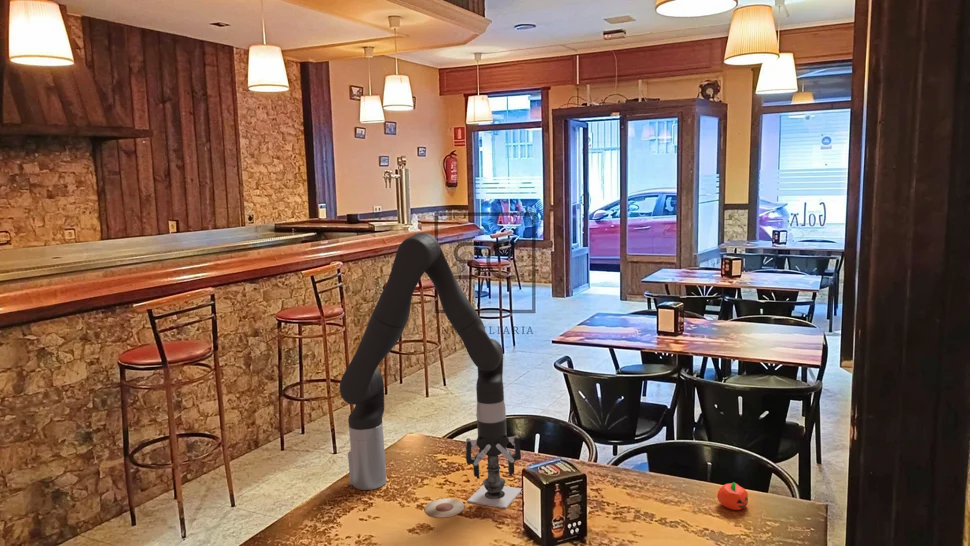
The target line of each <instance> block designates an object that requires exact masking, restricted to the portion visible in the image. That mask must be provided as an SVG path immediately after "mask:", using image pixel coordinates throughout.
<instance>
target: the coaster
mask: <svg viewBox="0 0 970 546" xmlns="http://www.w3.org/2000/svg"><path fill="white" fill-rule="evenodd" d="M464 509H465V505H464V503H463V502H462V501H461V500H459V499H456V498H450V497H449V498H446V497H445V498H438V499H435V500H432V501H429V503H427V504H426V505H425V508H424V511H425V513H426V514H427V515H428V516H429V517H433V518H437V519H438V518H440V519H443V518H451V517H455V516H457V515H459V514H460V513H462V512H463V510H464Z"/></svg>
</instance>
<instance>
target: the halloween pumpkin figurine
mask: <svg viewBox="0 0 970 546" xmlns="http://www.w3.org/2000/svg"><path fill="white" fill-rule="evenodd" d="M716 495H717V496H716V497H717V500H718V502H719V503H720V505H722V506H723V507H725V508H727V509H729V510H732V511H740V510H742V509H745V508H746V506H747V505H748V504H749V495H748V491H747V490H746V489H745V488H744V487H742V486H740V485H739V484H738V483H736V482H734V481H733V482H731V483H730V482H729V483H725V484H723V485H722V486H721V487H720V488H719V489H718V490H717V494H716Z"/></svg>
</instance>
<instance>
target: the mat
mask: <svg viewBox="0 0 970 546" xmlns="http://www.w3.org/2000/svg"><path fill="white" fill-rule="evenodd" d="M521 489H522V488H520V487H514V486H508V485H507V486H506V485H504V487H503V489H502V491H503V492H504V493H505V495H504V497H502V498H499V499H489V498H486V497H485V493H486V492H487V490H486V488H485V486H484V484H482V486H481V487H479V488H478V489H477V490H476V491H475V492H474V493H473V494H472V495H471V496H470V497H469V498H468V499H467V500H466V503H471V504H477V505H483V506H488V507H489V506H490V507H493V508H494V507H496V508H500V509H507V508H508V507H509V506H510V505H511V504H512V503H513V502H512V501H514V500H516V498H517V497H518V496H519V495H520V494H521V493H522V491H521Z"/></svg>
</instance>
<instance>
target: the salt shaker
mask: <svg viewBox="0 0 970 546" xmlns="http://www.w3.org/2000/svg"><path fill="white" fill-rule="evenodd" d="M499 459H500V458H499V455H491V456H488V455H487V467H486V470H487V478H485V479H484V480H483V482H482V485H484V486H485V488H486V490H487V492H486V493H485V497H486V498H489V499H499V498H502V497H504V495H505V493H504V492H503V491H502V489H503V487H504V486H505V484H506V479H504V478H503V477H501V475H500V469H501V466H500V464H499Z"/></svg>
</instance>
